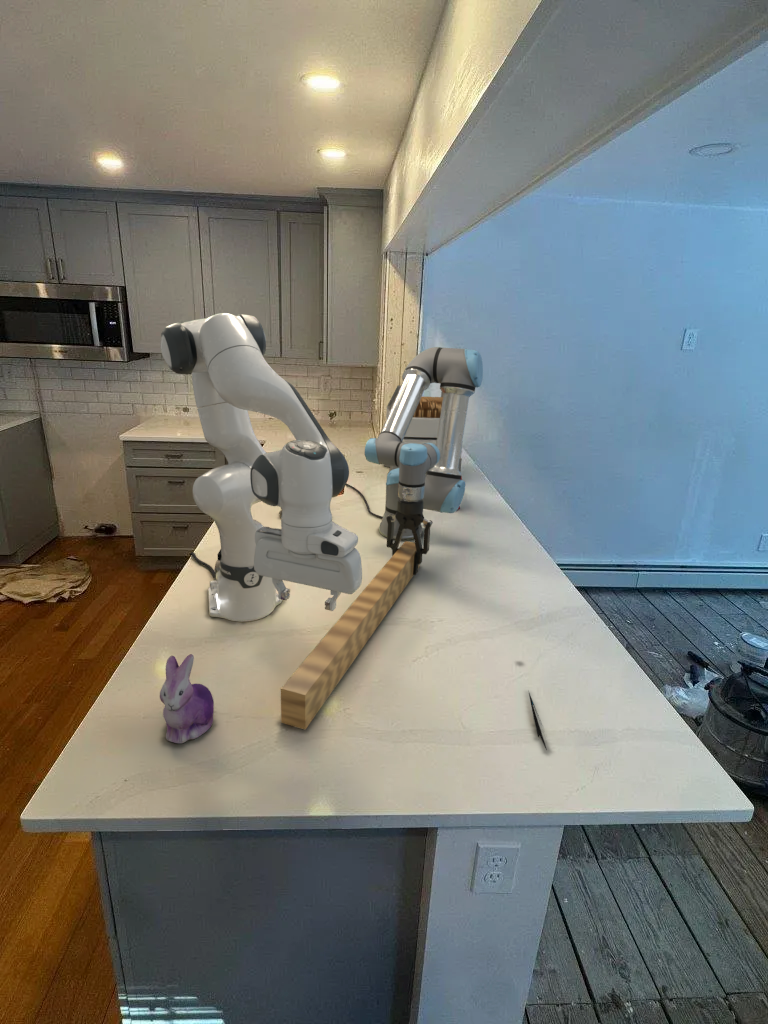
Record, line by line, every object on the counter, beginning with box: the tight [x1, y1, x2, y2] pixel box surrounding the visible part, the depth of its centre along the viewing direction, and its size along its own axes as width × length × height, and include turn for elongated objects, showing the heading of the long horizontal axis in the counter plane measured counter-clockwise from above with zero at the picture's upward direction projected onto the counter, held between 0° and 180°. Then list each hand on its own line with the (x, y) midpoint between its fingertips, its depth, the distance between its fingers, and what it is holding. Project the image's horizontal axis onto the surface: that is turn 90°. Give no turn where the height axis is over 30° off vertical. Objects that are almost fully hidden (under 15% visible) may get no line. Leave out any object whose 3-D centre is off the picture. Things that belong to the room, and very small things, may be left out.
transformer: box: [383, 384, 464, 474], centre depth 268 cm, size 34×33×41 cm
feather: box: [528, 689, 548, 751], centre depth 116 cm, size 2×28×2 cm
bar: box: [280, 540, 421, 730], centre depth 140 cm, size 78×5×8 cm, turn 161°
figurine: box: [159, 653, 215, 744], centre depth 102 cm, size 9×10×15 cm
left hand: (307, 603), depth 104 cm, fingers open, 8 cm apart
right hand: (406, 571), depth 170 cm, fingers closed on bar, 5 cm apart
